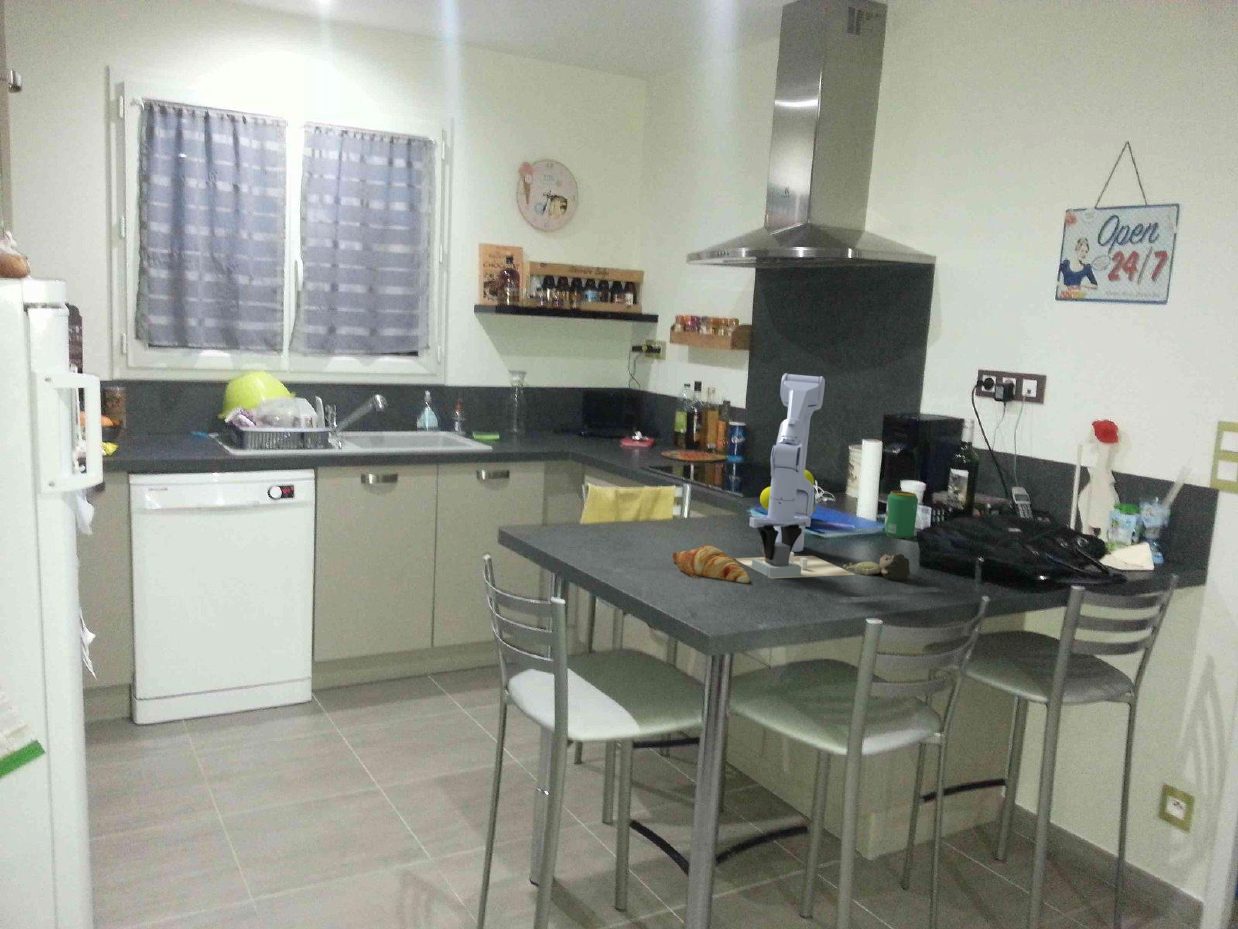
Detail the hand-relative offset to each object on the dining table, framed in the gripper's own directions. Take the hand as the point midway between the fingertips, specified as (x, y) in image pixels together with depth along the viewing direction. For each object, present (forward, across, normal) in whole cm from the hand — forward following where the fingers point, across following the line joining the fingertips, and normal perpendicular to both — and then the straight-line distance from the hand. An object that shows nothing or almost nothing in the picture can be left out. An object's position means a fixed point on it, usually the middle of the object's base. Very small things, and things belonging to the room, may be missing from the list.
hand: (776, 558), depth 224 cm
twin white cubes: (+3, +8, +4) cm, 9 cm away
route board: (+4, +7, +4) cm, 9 cm away
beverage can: (+4, +60, +33) cm, 69 cm away
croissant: (+4, -16, +2) cm, 16 cm away
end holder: (+3, 0, 0) cm, 3 cm away
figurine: (+4, +24, -5) cm, 25 cm away
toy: (+4, +38, +53) cm, 65 cm away
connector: (+1, 0, +2) cm, 2 cm away
